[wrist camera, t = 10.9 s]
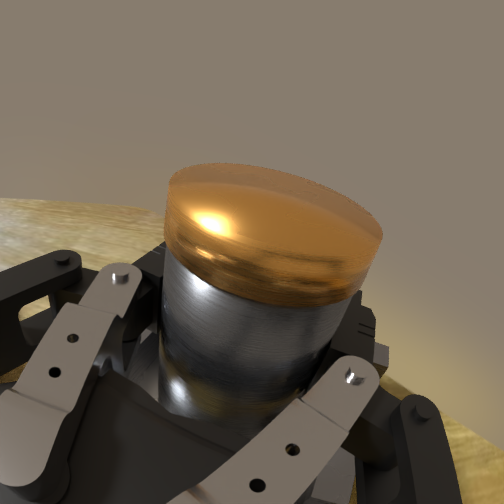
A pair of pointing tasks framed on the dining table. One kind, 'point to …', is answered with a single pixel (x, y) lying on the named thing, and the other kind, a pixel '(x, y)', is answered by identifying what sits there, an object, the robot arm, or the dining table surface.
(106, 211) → the dining table surface
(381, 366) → the keeper bracket
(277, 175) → the grey and copper cylinder
